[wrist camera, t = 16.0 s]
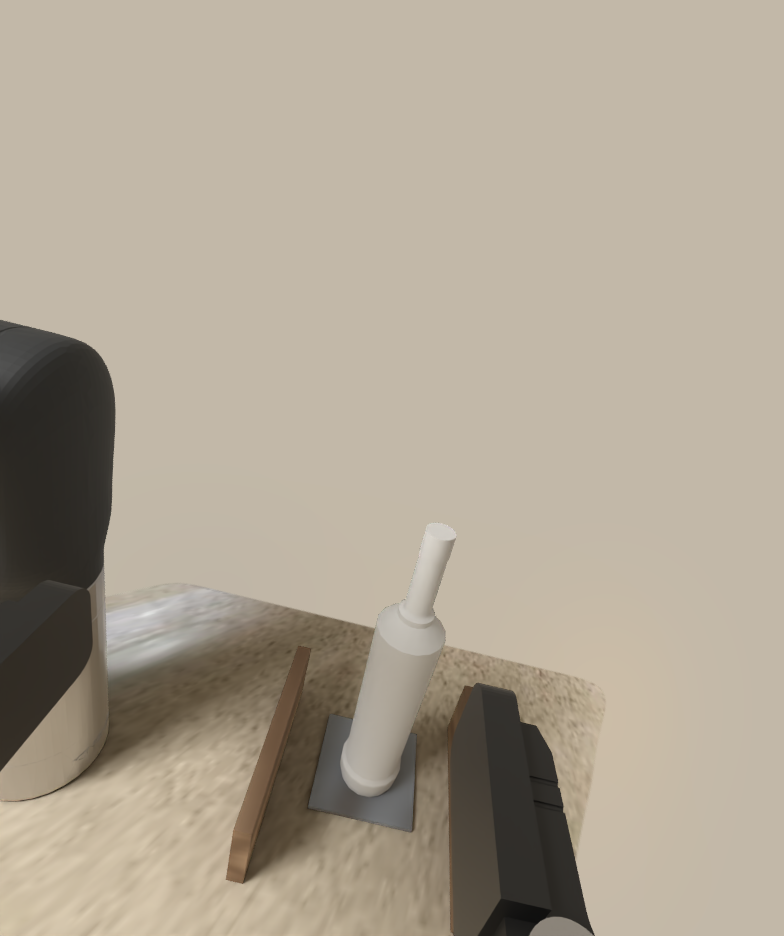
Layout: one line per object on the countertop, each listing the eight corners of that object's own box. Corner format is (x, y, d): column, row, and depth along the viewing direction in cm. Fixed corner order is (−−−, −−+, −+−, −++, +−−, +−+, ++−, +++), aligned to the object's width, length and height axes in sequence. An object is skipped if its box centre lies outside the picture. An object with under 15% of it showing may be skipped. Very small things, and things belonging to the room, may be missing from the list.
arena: (225, 879, 34) (233, 830, 32) (290, 690, 49) (298, 645, 46) (467, 935, 34) (493, 890, 32) (459, 730, 49) (477, 688, 46)
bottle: (351, 732, 46) (413, 502, 35) (403, 755, 45) (484, 526, 34) (328, 784, 41) (393, 537, 31) (386, 811, 40) (473, 566, 30)
